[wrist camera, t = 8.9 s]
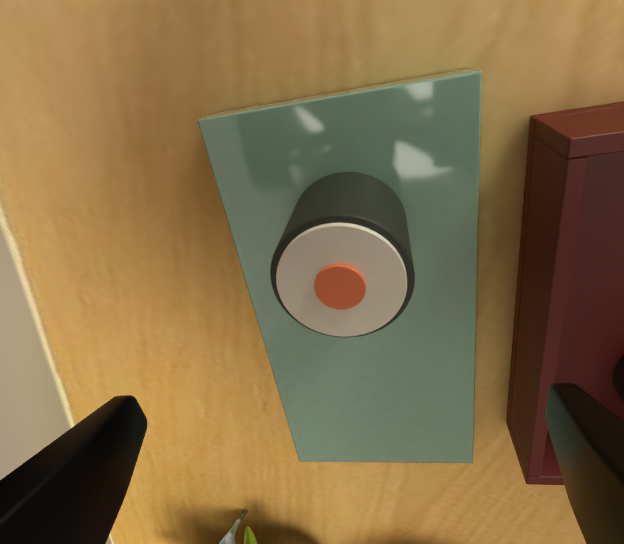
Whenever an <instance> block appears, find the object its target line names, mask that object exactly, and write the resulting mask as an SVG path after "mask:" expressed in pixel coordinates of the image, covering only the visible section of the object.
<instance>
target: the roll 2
mask: <svg viewBox="0 0 624 544" xmlns="http://www.w3.org/2000/svg"><path fill="white" fill-rule="evenodd" d="M613 384H614V388H615V389H616V391H617V393H618V394H619V396H620V397H621V399H622V401H623V402H624V356H623V357H622V359H621V360H620V361H619V363H618V364H617V366H616V368H615V370H614V374H613Z"/></svg>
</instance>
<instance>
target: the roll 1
mask: <svg viewBox="0 0 624 544" xmlns="http://www.w3.org/2000/svg"><path fill="white" fill-rule="evenodd" d="M270 277H271V283H272V288H273V290H274V293H275V296H276V298H277V300H278V302H279V303H280V305H281V306H282V308H283V309H284V310H285V311H286V312H287V313H288V315H290V316H291V317H292V318H293V319H294V320H295V321H297V322H298V323H299V324H301V325H302V326H304V327H306V328H308V329H310V330H312V331H314V332H317V333H320V334H323V335H328V336H332V337H359V336H364V335H368V334H371V333H374V332H376V331H379V330H381V329H383V328H384V327H386V326H388V325H389V324H391V323H392V322H393V321H394V320H396V319H397V318H398V317H399V316H400V315H401V313H402V312H403V311H404V309H405V308H406V307H407V305H408V303H409V301H410V299H411V297H412V294H413V290H414V285H415V272H414V265H413V258H412V252H411V245H410V239H409V232H408V226H407V219H406V214H405V210H404V207H403V205H402V203H401V201H400V199H399V198H398V196H397V195H396V194H395V192H394V191H393V190H392V189H391V188H390V187H389V186H387V185H386V184H385V183H383V182H382V181H380V180H379V179H377V178H375V177H372V176H370V175H367V174H363V173H358V172H339V173H334V174H331V175H328V176H325V177H323V178H321V179H319V180H317V181H316V182H314V183H313V184H311V185H310V186H309V187H308V188H307V189H306V190H305V191H304V192H303V194H302V195H301V196H300V198H299V200H298V201H297V204H296V206H295V208H294V210H293V212H292V215H291V217H290V219H289V221H288V223H287V226H286V228H285V230H284V232H283V234H282V237H281V239H280V241H279V243H278V245H277V247H276V250H275V252H274V254H273V258H272V261H271V268H270Z"/></svg>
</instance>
